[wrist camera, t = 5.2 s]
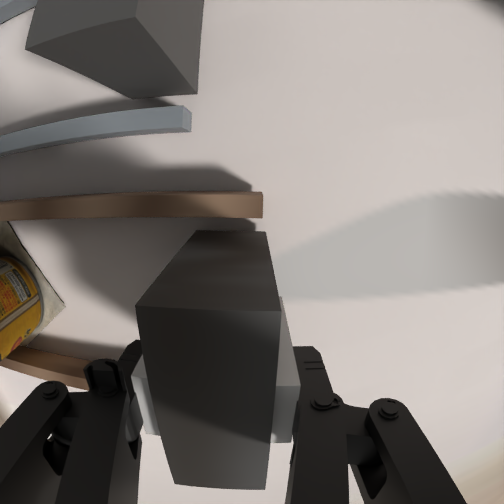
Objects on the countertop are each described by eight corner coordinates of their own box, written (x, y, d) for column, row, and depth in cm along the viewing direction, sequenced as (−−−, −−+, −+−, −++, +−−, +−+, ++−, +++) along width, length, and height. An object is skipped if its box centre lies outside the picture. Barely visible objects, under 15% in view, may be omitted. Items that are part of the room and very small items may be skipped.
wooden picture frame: (266, 192, 15) (286, 224, 7) (259, 387, 18) (262, 509, 10) (-36, 205, 15) (-123, 233, 6) (-5, 347, 18) (-66, 405, 10)
